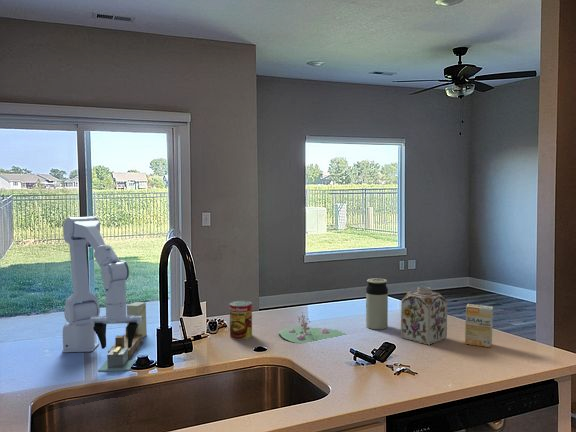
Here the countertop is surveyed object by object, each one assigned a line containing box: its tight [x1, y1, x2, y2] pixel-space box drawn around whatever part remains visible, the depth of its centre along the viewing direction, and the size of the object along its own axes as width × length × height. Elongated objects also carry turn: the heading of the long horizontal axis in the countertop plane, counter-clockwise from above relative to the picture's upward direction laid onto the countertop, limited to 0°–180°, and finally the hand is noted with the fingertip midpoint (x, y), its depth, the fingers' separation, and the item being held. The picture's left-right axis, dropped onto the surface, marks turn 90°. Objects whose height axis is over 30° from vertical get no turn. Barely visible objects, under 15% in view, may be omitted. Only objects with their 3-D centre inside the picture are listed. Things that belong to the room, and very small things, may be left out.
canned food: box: [229, 300, 253, 340], centre depth 176 cm, size 8×8×12 cm
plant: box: [277, 312, 348, 344], centre depth 178 cm, size 25×21×9 cm
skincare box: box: [126, 301, 148, 339], centre depth 176 cm, size 6×4×12 cm
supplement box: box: [464, 303, 494, 348], centre depth 165 cm, size 8×5×13 cm, turn 62°
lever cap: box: [106, 347, 128, 368], centre depth 148 cm, size 4×6×5 cm
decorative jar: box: [400, 286, 448, 346], centre depth 172 cm, size 12×12×18 cm
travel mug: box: [365, 277, 389, 331], centre depth 186 cm, size 8×8×18 cm
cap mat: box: [97, 359, 137, 373], centre depth 148 cm, size 9×8×1 cm
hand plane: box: [107, 326, 144, 360], centre depth 161 cm, size 17×7×7 cm, turn 4°
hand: (117, 347), depth 147 cm, fingers open, 7 cm apart
